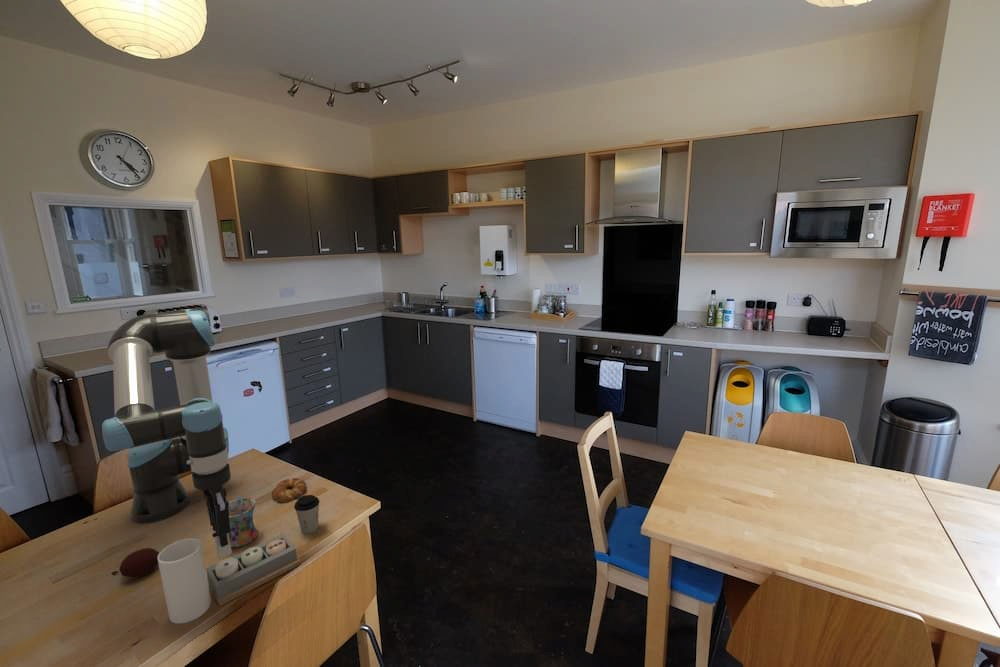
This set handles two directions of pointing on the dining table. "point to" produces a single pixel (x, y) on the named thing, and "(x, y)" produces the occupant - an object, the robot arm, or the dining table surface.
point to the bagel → (289, 490)
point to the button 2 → (251, 556)
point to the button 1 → (226, 568)
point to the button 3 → (275, 547)
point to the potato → (139, 562)
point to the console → (253, 572)
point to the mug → (241, 522)
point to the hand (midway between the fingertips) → (224, 554)
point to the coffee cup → (307, 513)
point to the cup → (184, 580)
